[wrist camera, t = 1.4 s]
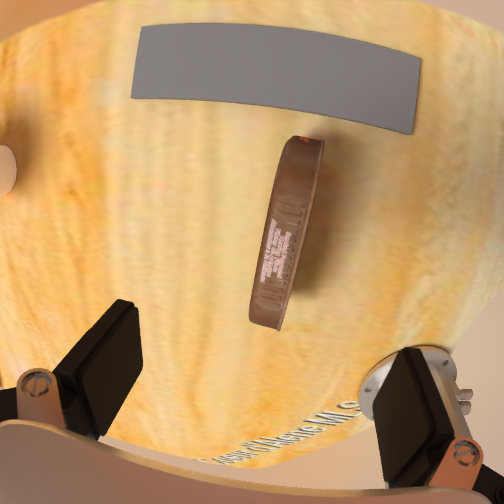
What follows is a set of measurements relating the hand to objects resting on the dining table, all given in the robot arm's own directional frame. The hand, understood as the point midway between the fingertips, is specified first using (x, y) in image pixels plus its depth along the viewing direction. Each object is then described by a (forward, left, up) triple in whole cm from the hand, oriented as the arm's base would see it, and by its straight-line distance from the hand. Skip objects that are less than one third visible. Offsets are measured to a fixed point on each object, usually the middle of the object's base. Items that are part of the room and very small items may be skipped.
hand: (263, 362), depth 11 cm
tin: (0, 0, -19) cm, 19 cm away
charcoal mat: (+3, -13, -19) cm, 23 cm away
